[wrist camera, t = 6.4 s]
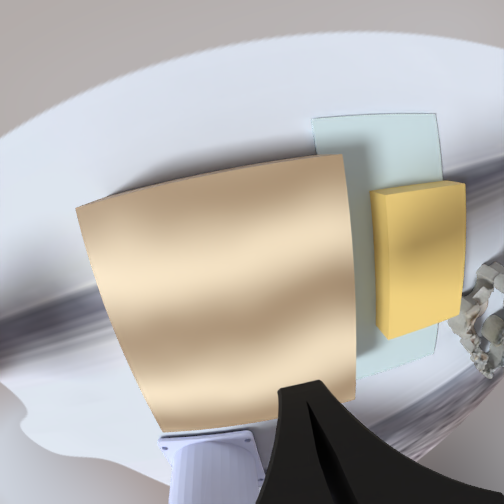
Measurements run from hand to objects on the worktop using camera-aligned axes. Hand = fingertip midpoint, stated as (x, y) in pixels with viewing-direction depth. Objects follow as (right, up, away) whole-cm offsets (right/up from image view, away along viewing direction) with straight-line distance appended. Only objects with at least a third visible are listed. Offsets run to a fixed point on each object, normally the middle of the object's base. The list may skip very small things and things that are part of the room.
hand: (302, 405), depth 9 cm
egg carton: (+19, -1, +13) cm, 23 cm away
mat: (+7, +4, +10) cm, 13 cm away
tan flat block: (-3, +3, +9) cm, 10 cm away
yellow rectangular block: (+9, +4, +7) cm, 12 cm away
